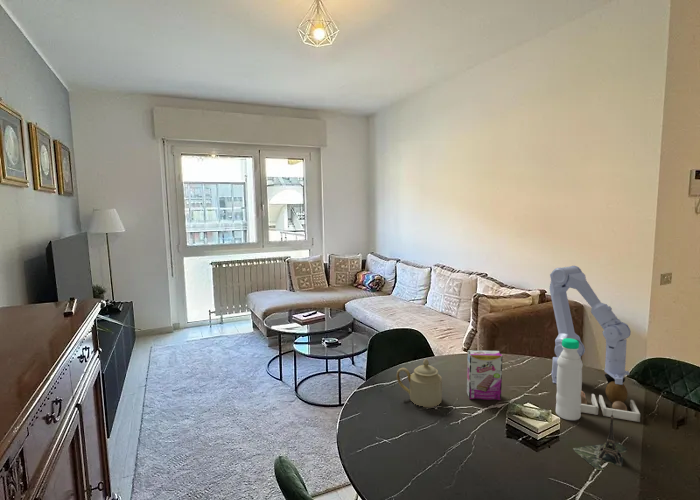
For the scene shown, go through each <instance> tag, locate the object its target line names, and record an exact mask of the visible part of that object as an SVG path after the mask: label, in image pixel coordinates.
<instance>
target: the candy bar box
mask: <svg viewBox="0 0 700 500" xmlns="http://www.w3.org/2000/svg"><path fill="white" fill-rule="evenodd" d="M466 361H467V365H466V366H467V371H466V394H467V398H468V399H469V400H484V401H485V400H486V401H487V400H488V401H489V400H490V401H501V400H502V384H503V381H502V380H503V354H501V352H500V351H499V350H481V349H480V350H478V349H477V350H475V349H474V350H473V349H471V350H470V349H468V350H467V360H466Z"/></svg>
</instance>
